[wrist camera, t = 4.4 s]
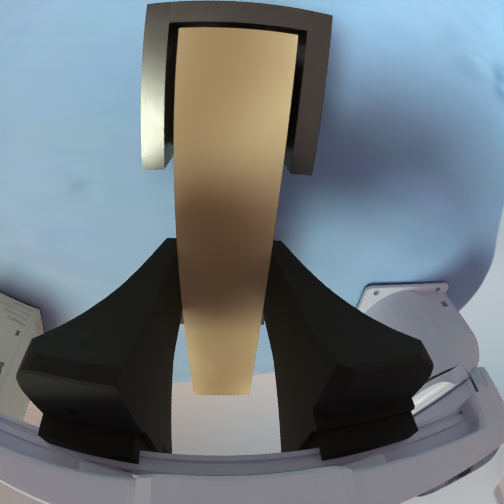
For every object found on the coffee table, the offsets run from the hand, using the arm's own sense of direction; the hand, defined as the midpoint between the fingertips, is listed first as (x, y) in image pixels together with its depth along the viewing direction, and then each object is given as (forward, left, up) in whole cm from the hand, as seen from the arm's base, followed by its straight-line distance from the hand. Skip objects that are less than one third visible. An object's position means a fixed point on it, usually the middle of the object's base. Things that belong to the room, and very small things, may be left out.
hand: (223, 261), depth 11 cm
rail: (0, 0, -3) cm, 3 cm away
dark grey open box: (0, -6, -7) cm, 9 cm away
